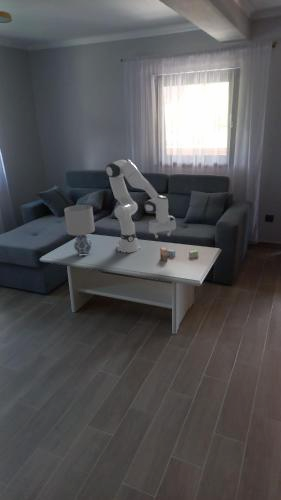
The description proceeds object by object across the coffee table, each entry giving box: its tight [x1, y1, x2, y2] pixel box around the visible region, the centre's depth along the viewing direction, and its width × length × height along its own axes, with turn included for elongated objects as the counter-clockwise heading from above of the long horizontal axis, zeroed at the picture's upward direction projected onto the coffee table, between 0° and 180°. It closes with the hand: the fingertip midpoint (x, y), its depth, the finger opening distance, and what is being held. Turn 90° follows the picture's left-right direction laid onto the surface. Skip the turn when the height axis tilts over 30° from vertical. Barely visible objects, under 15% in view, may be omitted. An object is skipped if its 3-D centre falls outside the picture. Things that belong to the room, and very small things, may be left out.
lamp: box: [63, 204, 95, 255], centre depth 274 cm, size 22×22×38 cm
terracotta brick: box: [159, 246, 168, 256], centre depth 255 cm, size 6×3×4 cm, turn 20°
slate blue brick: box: [167, 249, 176, 258], centre depth 264 cm, size 6×3×4 cm, turn 50°
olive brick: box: [188, 249, 199, 259], centre depth 259 cm, size 6×3×4 cm, turn 110°
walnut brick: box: [159, 253, 168, 262], centre depth 257 cm, size 6×3×4 cm, turn 20°
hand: (162, 236), depth 251 cm, fingers open, 8 cm apart
